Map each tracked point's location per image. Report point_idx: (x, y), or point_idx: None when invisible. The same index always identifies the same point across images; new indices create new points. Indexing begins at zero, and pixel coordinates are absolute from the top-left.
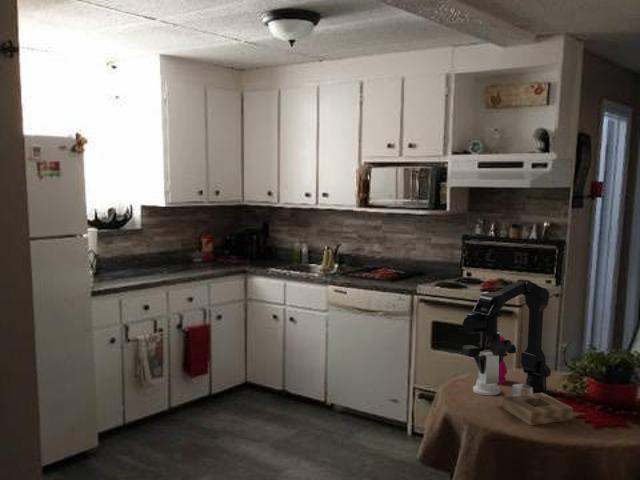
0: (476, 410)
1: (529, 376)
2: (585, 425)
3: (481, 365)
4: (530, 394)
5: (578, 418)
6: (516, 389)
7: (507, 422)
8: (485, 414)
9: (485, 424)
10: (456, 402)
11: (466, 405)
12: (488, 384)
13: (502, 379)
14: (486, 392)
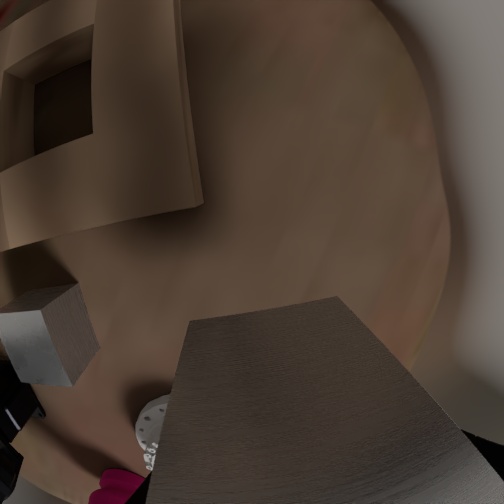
0: (362, 199)
1: (5, 425)
2: (6, 24)
3: (473, 441)
4: (15, 241)
5: None
6: (63, 342)
7: (269, 22)
8: (339, 134)
9: (376, 35)
10: (397, 321)
11: (377, 278)
12: None
13: (111, 479)
14: None
